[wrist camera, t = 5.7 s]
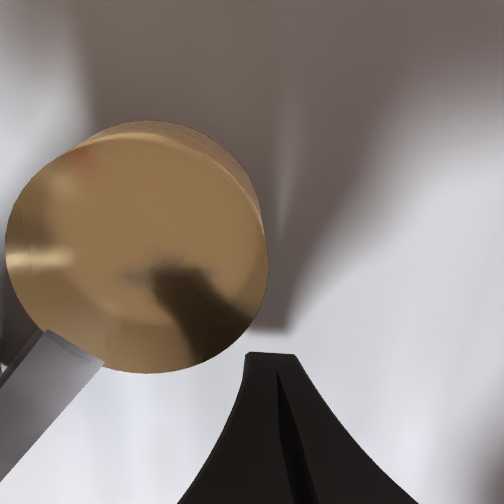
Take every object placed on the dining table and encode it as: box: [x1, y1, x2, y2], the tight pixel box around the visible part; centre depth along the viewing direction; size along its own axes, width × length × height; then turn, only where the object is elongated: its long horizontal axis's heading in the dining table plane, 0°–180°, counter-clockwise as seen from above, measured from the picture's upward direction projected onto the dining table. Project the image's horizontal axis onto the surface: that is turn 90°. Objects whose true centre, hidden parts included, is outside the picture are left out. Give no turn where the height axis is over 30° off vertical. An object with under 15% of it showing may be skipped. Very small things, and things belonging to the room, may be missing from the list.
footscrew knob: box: [0, 120, 268, 482], centre depth 10 cm, size 10×4×4 cm, turn 140°
